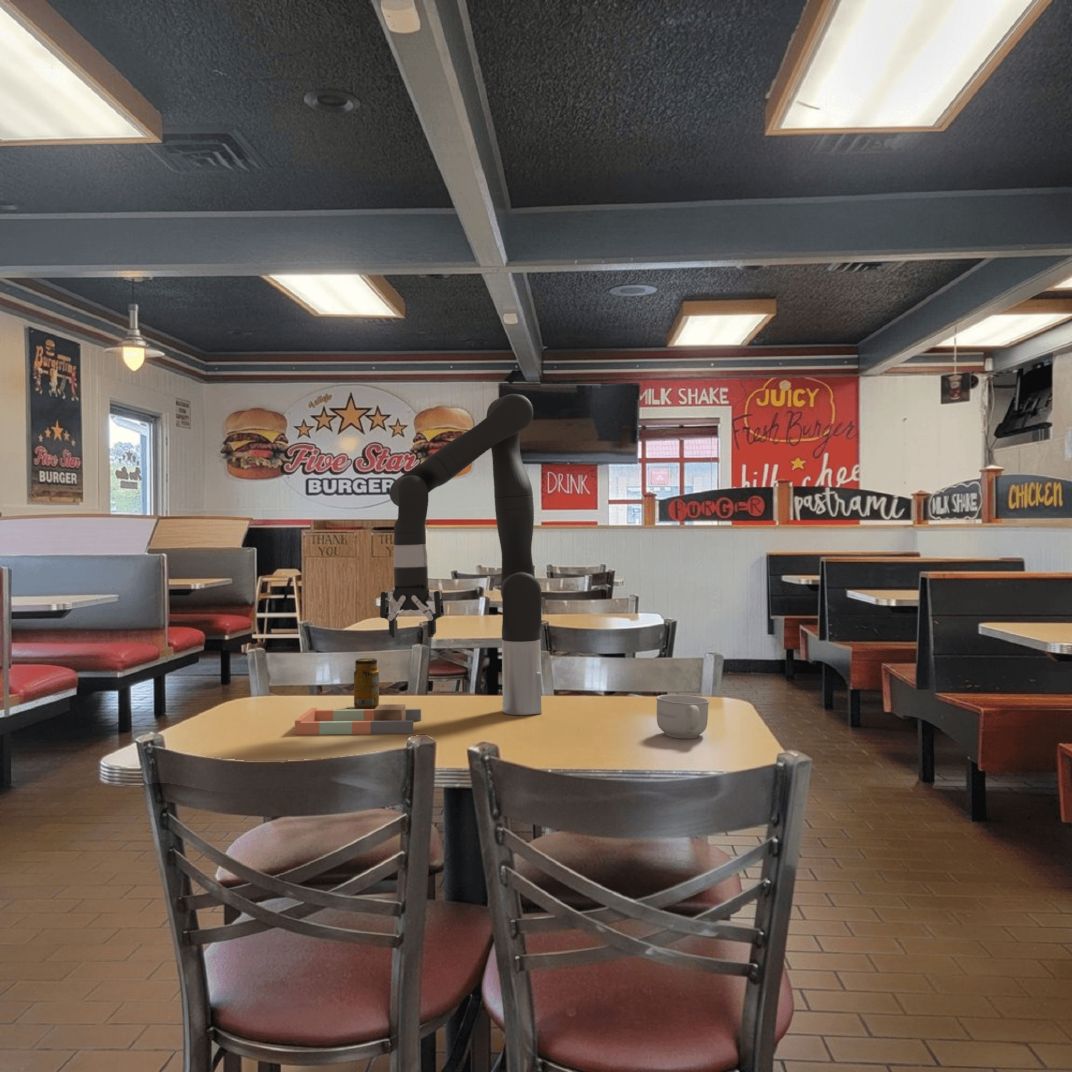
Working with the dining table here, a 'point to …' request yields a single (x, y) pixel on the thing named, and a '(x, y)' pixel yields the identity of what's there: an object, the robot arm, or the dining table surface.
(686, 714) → the teacup
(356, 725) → the tray
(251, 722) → the dining table surface
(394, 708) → the block
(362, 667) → the condiment
